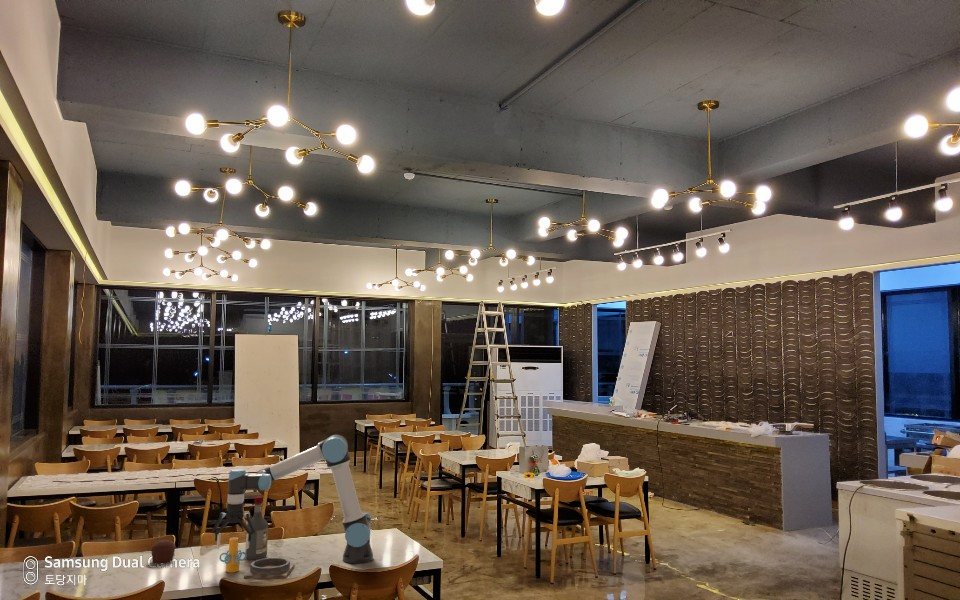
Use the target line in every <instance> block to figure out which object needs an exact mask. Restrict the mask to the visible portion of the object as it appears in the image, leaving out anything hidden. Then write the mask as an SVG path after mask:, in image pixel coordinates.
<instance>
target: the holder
mask: <svg viewBox="0 0 960 600" xmlns="http://www.w3.org/2000/svg"><path fill="white" fill-rule="evenodd" d="M295 566H296V565H295V562H294V563H293V562H292V563H291V561H290V560H289V559H288V558H284V557H264V558H262V559H259V560H252V562H251V563H250V564H249V569H248V570H247V572H246V573H245V574H244V575H243V579H286V578H287V577H288V576H289V574H290V573H291V572H292V570H293V569H294V567H295Z"/></svg>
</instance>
